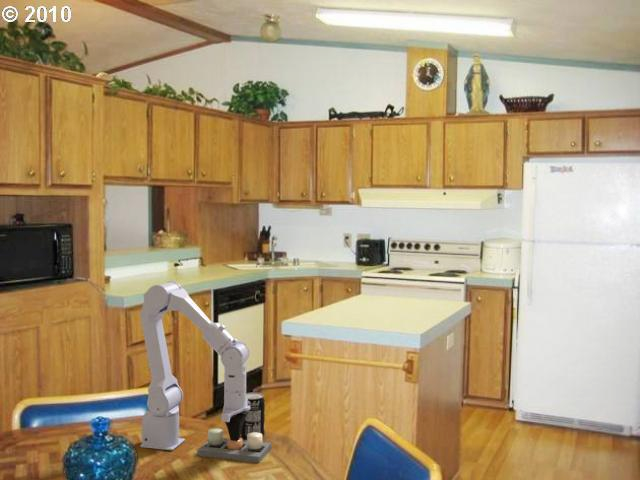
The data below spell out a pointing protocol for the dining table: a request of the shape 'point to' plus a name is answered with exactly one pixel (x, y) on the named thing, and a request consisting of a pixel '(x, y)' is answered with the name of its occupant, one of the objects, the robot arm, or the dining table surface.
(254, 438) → the cream rounded piece
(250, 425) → the beverage can
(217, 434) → the cap sage
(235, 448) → the peach egg
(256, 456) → the board
